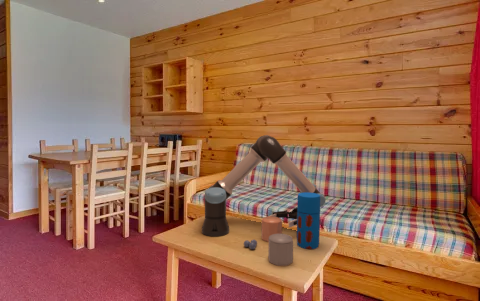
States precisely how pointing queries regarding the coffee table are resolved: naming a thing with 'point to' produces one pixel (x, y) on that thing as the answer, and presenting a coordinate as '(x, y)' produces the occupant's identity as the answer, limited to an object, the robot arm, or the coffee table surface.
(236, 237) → the coffee table surface
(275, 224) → the octagonal lidded canister
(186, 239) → the coffee table surface
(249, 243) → the marble
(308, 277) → the coffee table surface
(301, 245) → the thermos
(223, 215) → the robot arm
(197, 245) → the coffee table surface
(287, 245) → the brown octagonal jar
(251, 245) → the marble
